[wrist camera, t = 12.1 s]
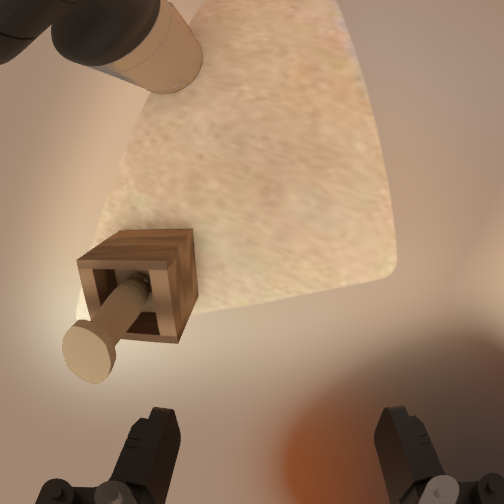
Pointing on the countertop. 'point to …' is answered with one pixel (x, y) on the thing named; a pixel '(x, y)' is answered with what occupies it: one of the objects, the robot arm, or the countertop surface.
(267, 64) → the countertop surface
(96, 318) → the handle
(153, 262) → the wooden box
